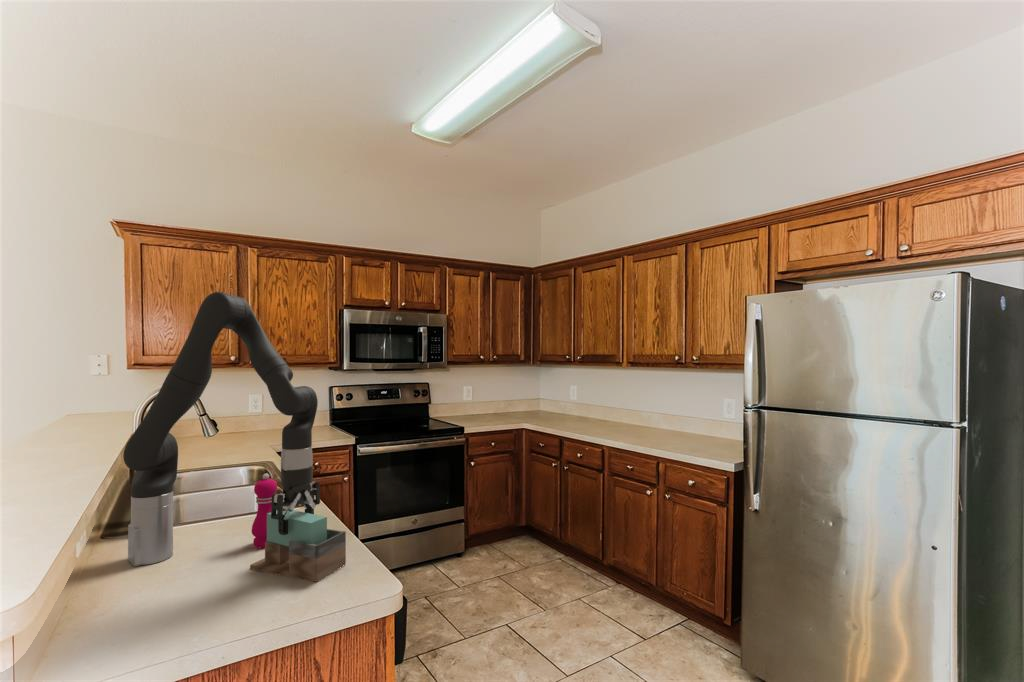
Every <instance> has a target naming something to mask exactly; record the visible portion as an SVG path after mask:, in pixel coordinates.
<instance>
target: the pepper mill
mask: <svg viewBox="0 0 1024 682" xmlns="http://www.w3.org/2000/svg"><path fill="white" fill-rule="evenodd" d="M277 491H278V484H277V481H275V480H274V479H273V478H270V474H268V472H267V473H264V474H263V475H262V479H260V480H258V481H257V482H256V483H255V484H254V487H253V493H254V495H256V497H255V503H256V504H257V513H256V516H255V518H254V521H253V523H252V525H251V534H252V536H253V537H254V538H253V543H252V544H253V547H254V548H256V547H257V548H256V549H265V542H267V514H268V513H271V504H272V495H273V494H276V493H277Z"/></svg>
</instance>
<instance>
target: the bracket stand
mask: <svg viewBox="0 0 1024 682" xmlns="http://www.w3.org/2000/svg"><path fill="white" fill-rule="evenodd" d="M346 532H347V531H343V530H338V529H330V528H327V540H326V541H324V542H322V543H320V544H318V545H315V544H309V543H303V542H297V541H289V546H285V545H281V544H277V543H273V542H269V541H267V542H265V548H264V558H262V559H260V560H258V561H257V560H256V561H255V562H253V563H251V564H250V566H249V569H251V570H254V569H255V570H256V571H259V572H263V573H265V572H266V573H268V574H269V573H271V574H274V575H279V574H280V576H284V575H285V577H289V576H290V578H295V579H299V580H304V579H305V580H304V581H309V580H310V582H314V581H315V582H314V583H318V582H320V581H321V579H322V580H323V579H324V578H327V577H328V576H330V575H332V574H333V573H335V572H336V571H338V570H339V569H338V568H340V567H341V568H343V567H344V566H343V565H345V564H346V562H347V561H346V559H347V558H346V557H347V556H346V555H347V554H346V553H347V552H346V545H347V544H346V543H347V541H346V539H347V538H346V534H347V533H346ZM342 566H343V567H342ZM345 566H346V565H345ZM341 568H340V569H341ZM337 569H338V570H337ZM335 570H336V571H335ZM334 571H335V572H334ZM332 572H333V573H332ZM331 573H332V574H331ZM329 574H330V575H329ZM326 576H327V577H326ZM319 580H320V581H319Z"/></svg>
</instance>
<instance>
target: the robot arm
mask: <svg viewBox="0 0 1024 682" xmlns="http://www.w3.org/2000/svg"><path fill="white" fill-rule="evenodd" d="M223 329H226V330H231V331H232V332H234V333H235V334H236V335H237V336H238V337H240V339H241V341H243V343H244V345H245V346H246V349H247V353H248V358H249V361H250V364H251V366H252V367H253V369H254V371H255V372H256V373H257V375H258V376H259V377H260V378H261V380H262V381H263V382H264V384H265V385H266V388H267V391H268V393H269V395H270V398H271V399H272V400H271V401H272V403H273V405H274V407H275V408H276V409H277V410H278V412H280V413H281V414H282V415H285V416H289V417H291V420H290V422H289V423H287V424H286V425H285V426H284V427H283V428H282V432H281V454H280V485H281V486H282V488H283V489H282V491H281V493H275V494H273V495H272V504H271V519H277V520H278V532H279V533H280V535H287V534H288V517H289V514H290V512H292V511H293V510H294V509H295V507H298V506H300V505H303V506H304V512H305V513H310V514H315V508H316V506H317V505H319V504H321V489H320V488H321V485H320V482H319V481H314V480H313V478H314V477H313V473H314V472H313V471H314V469H313V468H314V466H313V464H314V462H313V461H314V459H313V458H314V457H313V448H312V446H313V443H312V440H313V438H312V437H313V435H312V430H313V426H314V423H315V418H316V415H317V410H318V402H319V401H318V396H317V392H316V391H315V389H313V388H312V387H310V386H309V385H308V386H307V385H300V386H293V384H291V381H292V380H293V377H294V372H293V371H292V369H291V367H290V366H289V365H288V364H287V362H286V361H285V360H284V359H283V357H282V356H281V355H280V354H279V352H278V350H276V348H275V347H274V345H273V344H272V342H271V341H270V339H269V338H268V336H267V334H266V333H265V331H264V329H263V327H262V325H261V324H260V322H259V320H258V318H257V316H256V314H255V312H254V309H253V308H252V307H251V305H250V304H249V302H248V301H247V300H246V299H245V298H243V297H241V296H237V295H235V294H231V293H230V294H229V293H227V292H221V291H214V292H212V293H210V294H209V295H207V296H206V297H205V298H204V299H203V301H202V303H201V304H200V306H199V309H198V311H197V313H196V316H195V318H194V321H193V324H192V325H191V329H190V331H189V333H188V336H187V338H186V339H185V342H184V344H183V345H182V348H181V350H180V352H179V354H178V356H177V358H176V360H175V361H174V363H173V364H172V367H171V368H170V370H169V371H168V374H167V375H166V377H165V379H164V381H163V383H162V385H161V387H160V390H159V391H158V392H157V395H156V397H155V398H154V400H153V402H152V404H151V406H150V407H149V409H148V411H147V413H146V415H145V416H144V418H143V419H142V421H141V422H140V424H139V425H138V426H137V428H136V429H135V431H134V432H133V433H132V435H131V436H130V438H129V439H128V441H127V442H126V444H125V447H124V450H123V456H122V457H123V463H124V465H125V466H126V467H127V468H128V469H130V470H132V471H143V472H142V474H141V476H140V478H139V479H138V480H137V481H136V482H135V483H134V484H133V485H132V487H131V486H130V523H129V524H128V526H127V531H128V532H127V535H128V536H127V560H128V562H129V563H130V564H131V565H132V566H133V567H137V566H144V565H151V564H156V563H157V564H158V563H160V562H163V561H165V560H167V559H169V558H171V557H172V556H173V555H174V485H175V483H176V480H177V477H178V465H179V464H178V463H179V447H178V446H179V445H178V442H177V440H176V437H175V436H174V435H173V434H172V433H170V432H171V429H172V428H173V427H174V426H175V424H176V423H177V422H178V421H180V419H181V418H182V417H183V416H184V415H185V414H186V413H187V412H188V411H189V410H190V409H191V408H192V407H193V406H194V405H195V404H196V403H197V402H198V401H199V400H200V398H201V396H202V395H203V393H204V391H205V389H206V388H207V386H208V385H209V384H208V383H209V382H210V379H211V377H212V372H213V362H212V361H213V360H212V356H213V355H212V352H213V348H214V345H215V342H216V340H217V338H218V336H219V334H220V333H221V332H222V330H223ZM276 511H277V514H276ZM284 511H286V512H285V514H284V515H283V513H284Z"/></svg>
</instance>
